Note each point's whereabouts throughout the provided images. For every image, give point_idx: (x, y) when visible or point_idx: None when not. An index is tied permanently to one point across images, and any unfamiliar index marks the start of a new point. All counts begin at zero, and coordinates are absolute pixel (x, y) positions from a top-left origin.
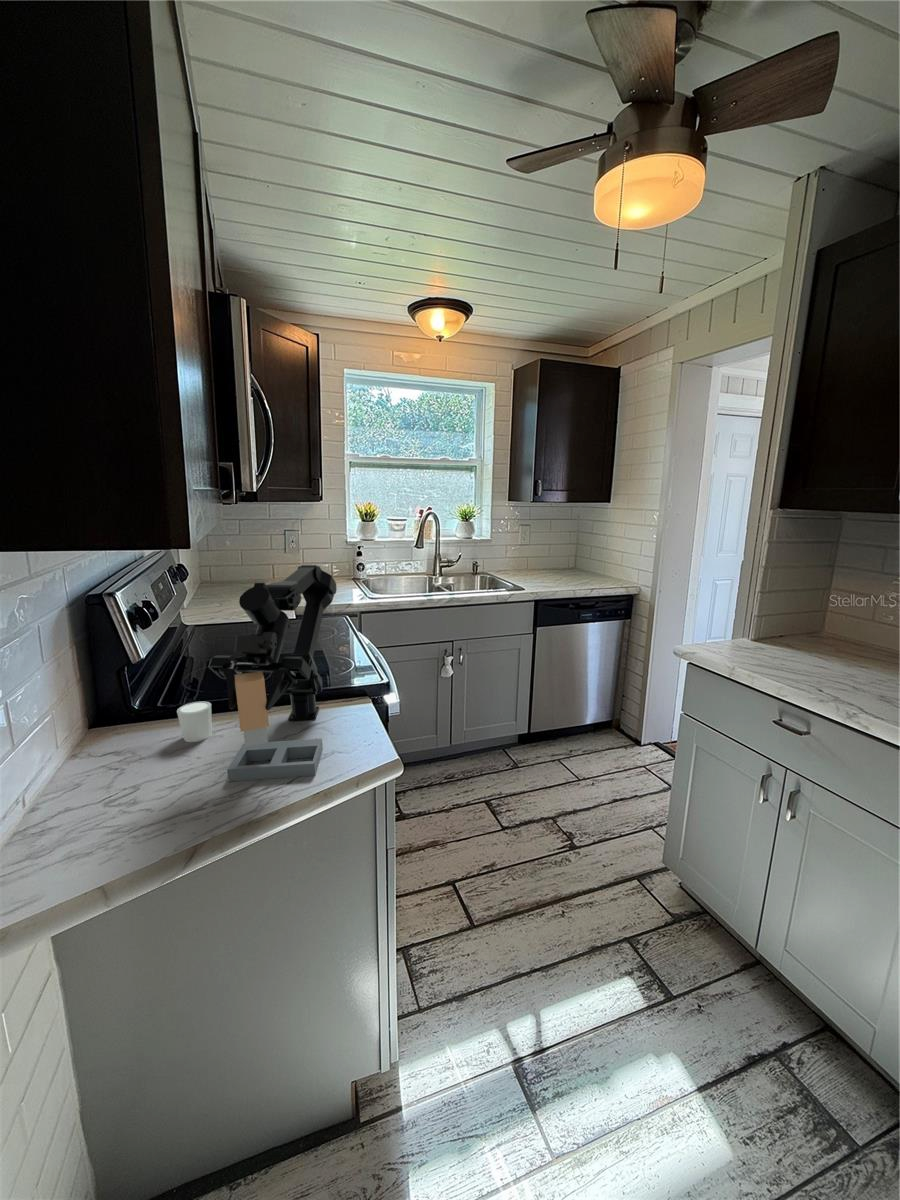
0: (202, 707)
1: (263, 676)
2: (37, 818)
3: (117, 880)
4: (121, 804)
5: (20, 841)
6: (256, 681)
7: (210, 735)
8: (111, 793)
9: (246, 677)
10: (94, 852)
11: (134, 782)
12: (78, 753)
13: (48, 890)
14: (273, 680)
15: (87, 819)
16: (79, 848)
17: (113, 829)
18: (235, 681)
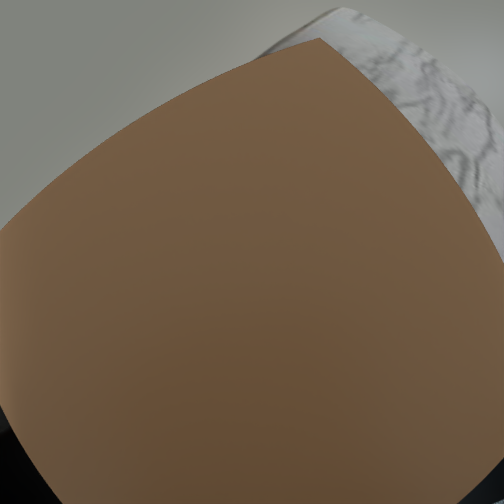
0: None
1: (5, 412)
2: (499, 130)
3: (294, 31)
4: (445, 155)
5: (469, 91)
6: (31, 211)
7: None
8: (482, 185)
9: (315, 362)
10: (372, 63)
11: (481, 221)
12: None
13: (357, 26)
14: (4, 425)
15: (450, 122)
16: (398, 70)
17: (396, 98)
18: (397, 115)
